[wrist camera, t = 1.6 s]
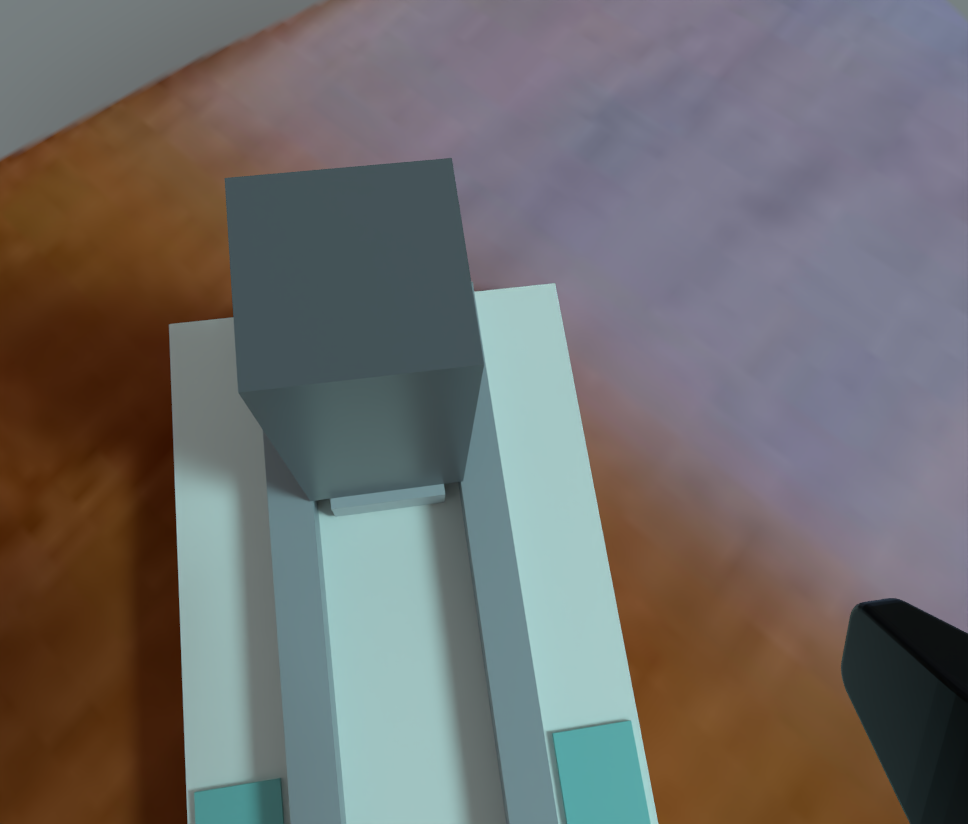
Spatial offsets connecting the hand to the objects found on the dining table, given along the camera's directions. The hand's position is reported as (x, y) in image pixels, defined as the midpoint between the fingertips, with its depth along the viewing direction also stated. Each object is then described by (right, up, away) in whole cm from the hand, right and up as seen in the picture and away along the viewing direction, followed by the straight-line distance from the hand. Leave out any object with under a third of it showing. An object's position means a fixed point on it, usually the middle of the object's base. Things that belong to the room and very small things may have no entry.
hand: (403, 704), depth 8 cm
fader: (-2, +2, +12) cm, 13 cm away
